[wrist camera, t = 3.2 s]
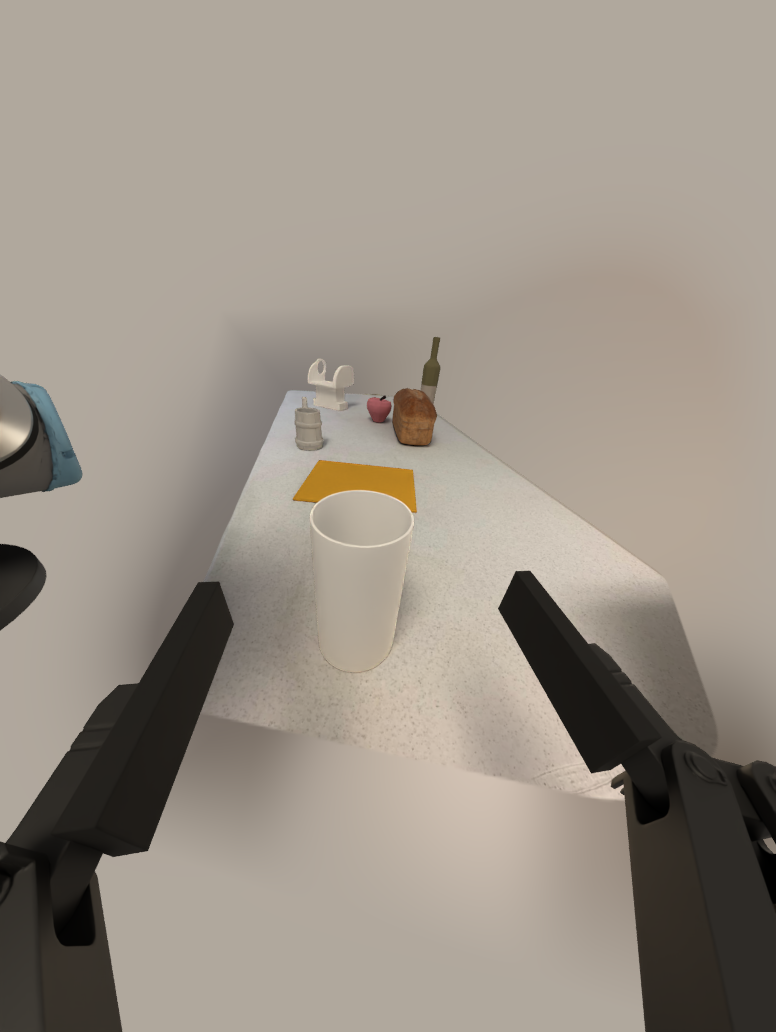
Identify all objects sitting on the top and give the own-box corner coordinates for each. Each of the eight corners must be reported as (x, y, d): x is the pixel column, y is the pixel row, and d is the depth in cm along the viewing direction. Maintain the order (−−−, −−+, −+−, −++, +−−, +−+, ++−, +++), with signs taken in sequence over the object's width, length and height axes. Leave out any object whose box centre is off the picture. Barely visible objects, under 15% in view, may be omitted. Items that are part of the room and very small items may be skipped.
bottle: (414, 412, 128) (425, 336, 112) (428, 412, 130) (441, 338, 114) (419, 416, 122) (432, 336, 106) (434, 416, 124) (448, 338, 108)
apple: (384, 418, 113) (386, 392, 107) (393, 424, 106) (396, 397, 101) (362, 419, 108) (363, 392, 103) (371, 425, 102) (373, 396, 97)
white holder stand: (309, 406, 119) (306, 358, 109) (327, 402, 129) (326, 358, 119) (335, 412, 114) (335, 363, 104) (353, 407, 124) (354, 362, 114)
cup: (320, 606, 33) (313, 489, 24) (387, 602, 34) (403, 490, 26) (316, 677, 26) (304, 549, 17) (399, 668, 28) (426, 546, 19)
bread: (419, 425, 109) (425, 386, 101) (434, 449, 86) (443, 400, 78) (389, 422, 108) (393, 383, 100) (396, 446, 84) (402, 397, 77)
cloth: (292, 500, 53) (292, 498, 52) (319, 461, 69) (318, 460, 69) (416, 512, 53) (416, 511, 53) (412, 471, 70) (412, 469, 70)
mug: (297, 451, 74) (292, 404, 67) (293, 437, 83) (289, 395, 76) (325, 450, 76) (324, 405, 70) (318, 437, 85) (316, 396, 79)
